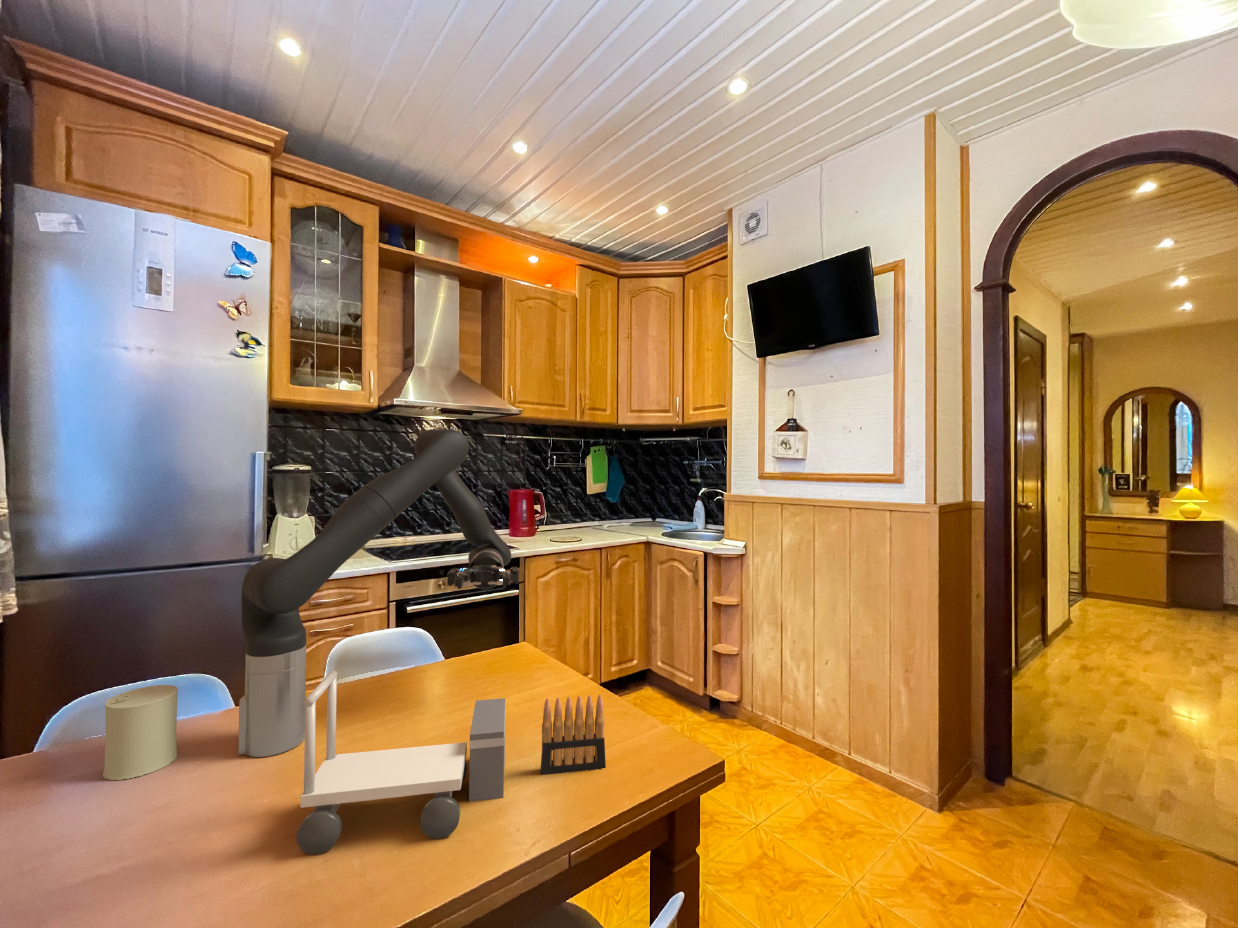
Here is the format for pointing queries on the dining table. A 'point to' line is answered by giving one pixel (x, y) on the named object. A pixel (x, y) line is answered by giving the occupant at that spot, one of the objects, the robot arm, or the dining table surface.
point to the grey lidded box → (487, 750)
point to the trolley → (374, 779)
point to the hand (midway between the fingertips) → (482, 582)
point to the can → (140, 731)
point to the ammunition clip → (573, 738)
